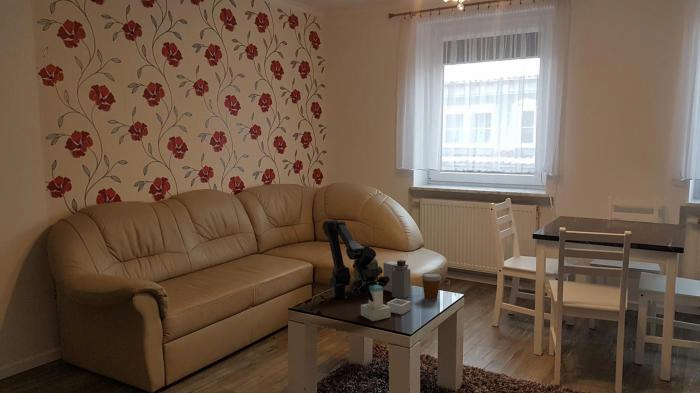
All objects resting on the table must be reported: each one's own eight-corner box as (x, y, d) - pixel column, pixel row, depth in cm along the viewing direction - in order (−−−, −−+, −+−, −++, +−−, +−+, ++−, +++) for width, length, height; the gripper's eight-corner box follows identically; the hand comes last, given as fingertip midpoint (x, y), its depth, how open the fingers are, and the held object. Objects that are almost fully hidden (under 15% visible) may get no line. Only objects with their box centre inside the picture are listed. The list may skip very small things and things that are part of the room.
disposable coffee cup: (439, 302, 246) (439, 277, 244) (419, 300, 249) (419, 276, 247) (441, 296, 254) (442, 273, 253) (423, 294, 258) (423, 271, 256)
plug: (368, 313, 226) (368, 286, 225) (376, 311, 229) (377, 284, 228) (374, 316, 223) (374, 288, 221) (382, 314, 225) (383, 287, 224)
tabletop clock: (378, 294, 257) (378, 246, 254) (360, 296, 255) (361, 247, 252) (369, 287, 271) (369, 240, 268) (353, 288, 269) (353, 241, 266)
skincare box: (401, 291, 263) (402, 263, 262) (392, 293, 260) (393, 264, 258) (391, 287, 270) (392, 260, 269) (382, 289, 267) (383, 261, 265)
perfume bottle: (409, 295, 257) (410, 260, 255) (403, 298, 251) (404, 262, 249) (398, 293, 260) (398, 258, 258) (391, 296, 255) (392, 261, 253)
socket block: (360, 314, 227) (360, 305, 227) (378, 311, 232) (378, 301, 232) (372, 321, 219) (372, 311, 219) (390, 317, 224) (390, 307, 224)
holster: (386, 311, 232) (387, 302, 232) (395, 306, 239) (395, 298, 238) (402, 314, 228) (402, 305, 227) (410, 309, 234) (410, 301, 234)
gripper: (353, 263, 222) (367, 294, 214) (387, 258, 231) (402, 287, 223) (343, 276, 229) (356, 307, 221) (377, 271, 239) (391, 300, 231)
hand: (377, 300), depth 224 cm, fingers closed on plug, 4 cm apart
